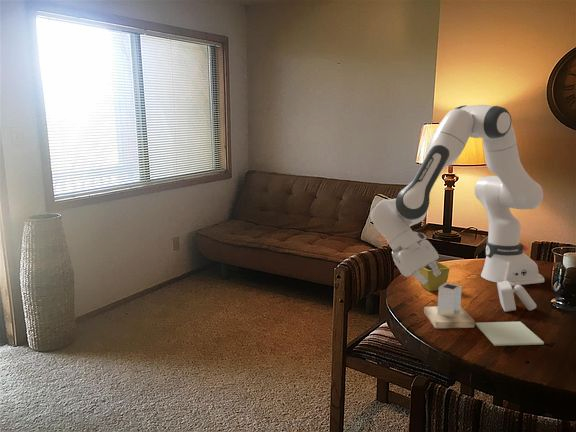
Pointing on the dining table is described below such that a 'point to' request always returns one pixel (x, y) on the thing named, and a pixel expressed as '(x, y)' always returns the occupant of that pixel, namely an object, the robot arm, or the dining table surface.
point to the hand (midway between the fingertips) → (432, 279)
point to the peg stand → (449, 319)
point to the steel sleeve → (449, 300)
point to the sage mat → (508, 333)
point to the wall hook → (508, 297)
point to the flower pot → (434, 277)
